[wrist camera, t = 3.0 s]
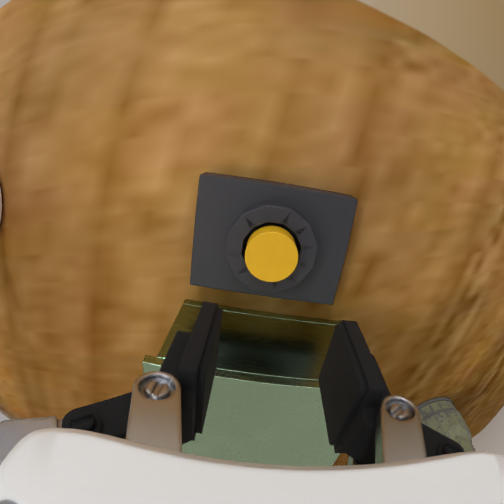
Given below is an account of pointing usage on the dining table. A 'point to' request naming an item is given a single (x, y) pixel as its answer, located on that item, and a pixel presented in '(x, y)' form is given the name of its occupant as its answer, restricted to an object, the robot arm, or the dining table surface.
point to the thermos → (446, 421)
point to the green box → (263, 341)
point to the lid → (261, 420)
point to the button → (271, 254)
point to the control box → (265, 214)
